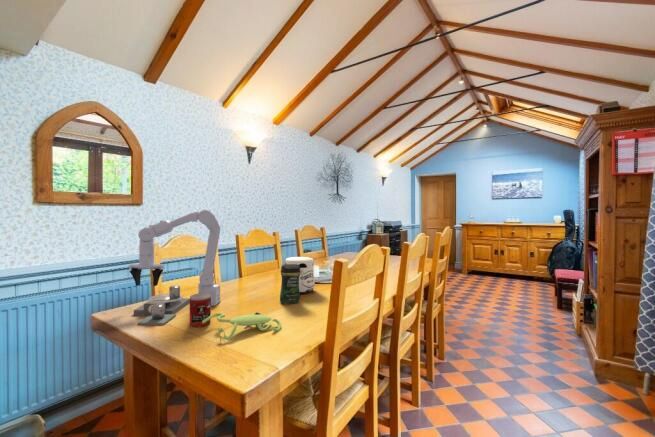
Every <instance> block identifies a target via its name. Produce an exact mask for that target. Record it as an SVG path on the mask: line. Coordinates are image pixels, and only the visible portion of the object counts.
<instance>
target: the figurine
mask: <svg viewBox="0 0 655 437" xmlns="http://www.w3.org/2000/svg"><path fill="white" fill-rule="evenodd" d="M216 317H217V318H216ZM225 317H226V315H225V313H222V312H219V313H218V312H217V313H212V314H211V315H210V316H209V317H208V318H206V319H204V320H203V321H202V323H205V322H207V321H208V320H210V319H212V318H216V320H217V321H218V322H220V323H230V324H231V325H233V327H232V329H231V332H230V334H229V335H228V336H227V335H226V334H225V330H224V328H223V327H219V328H218V330H217V334H218V338H219V340H220V342H219V343H222V337H221V332H223V337H224V339H225V340H226V341H230V340H231V339H232V338H233V336H234V334H235V332H236V331H237V328H238V326H241V327H242V326H243V327H244V328H243V329H244V330H247V329H249V328H250V327H251V326H252V327H253V326H255V327H257V328H258V330H259V331H266V330H267V329H269V327H270V326H271V325H272V322H275V323H276V324H277V328H276V327H274V326H272V327H271V330H272V331H273V332H279V331H280V330H282V323H281V322H280V320H279V319H277V318H273V319H272V318H271V317H270V316H268V315H265V314H261V312H255V313H251V314H246V315H245V314H244V315H240V316H236V317H233V318H225ZM266 323H268V324H267V326H266ZM265 326H266V327H265Z"/></svg>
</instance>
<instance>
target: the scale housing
mask: <svg viewBox="0 0 655 437" xmlns="http://www.w3.org/2000/svg"><path fill="white" fill-rule="evenodd" d="M155 304H164V305H165V314H176V313H178V312H179V311H181V310H182V309H184V308H185V307H186V306H188V305H190V297H189V298H187V297H185V298H183V297H182V299H180V300H178V301H175V302H171V303H166V302H148V301H147V302H144V303H143V305H140V306H138V307H137V308H135V309H133V316H149V315H151V314H152V306H153V305H155Z"/></svg>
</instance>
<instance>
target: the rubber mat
mask: <svg viewBox="0 0 655 437" xmlns="http://www.w3.org/2000/svg"><path fill="white" fill-rule="evenodd" d="M176 317H177V314H176V313H175V314H165V317H164V318H163V319H159V320H153V319H152V314H151V315H147V316H146V317H145V318H143V319H141V320H140V321H138V322H137V326H165V325H167V324H168V323H169V322H170V321H172V320H174V319H175V318H176Z"/></svg>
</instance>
